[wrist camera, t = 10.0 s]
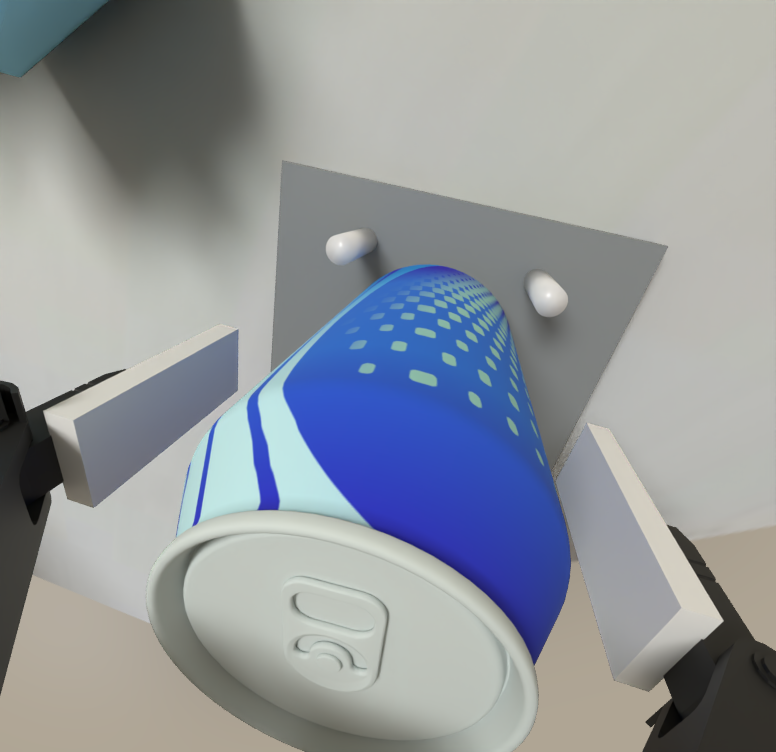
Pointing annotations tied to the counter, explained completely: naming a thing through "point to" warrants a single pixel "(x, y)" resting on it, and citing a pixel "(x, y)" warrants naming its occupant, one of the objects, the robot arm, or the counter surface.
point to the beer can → (374, 534)
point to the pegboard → (473, 257)
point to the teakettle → (37, 29)
